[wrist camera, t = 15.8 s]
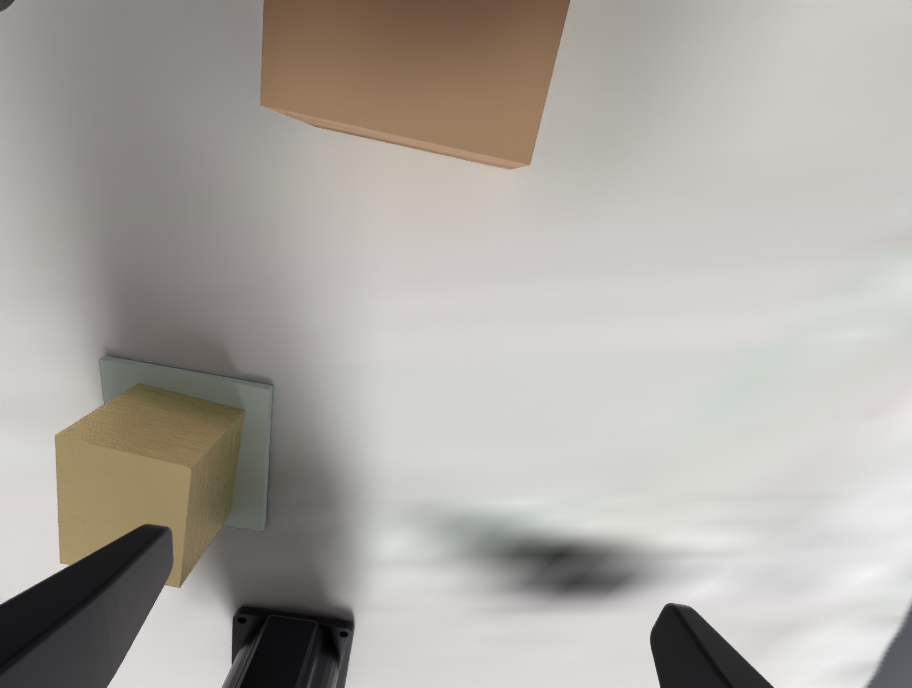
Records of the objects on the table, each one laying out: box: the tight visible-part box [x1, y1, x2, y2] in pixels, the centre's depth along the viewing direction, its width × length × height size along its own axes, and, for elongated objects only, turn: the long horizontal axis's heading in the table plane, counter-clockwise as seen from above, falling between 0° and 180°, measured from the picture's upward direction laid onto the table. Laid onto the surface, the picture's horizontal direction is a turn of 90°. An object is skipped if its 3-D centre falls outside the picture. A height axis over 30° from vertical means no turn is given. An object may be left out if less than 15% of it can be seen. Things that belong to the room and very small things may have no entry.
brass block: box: [55, 383, 245, 588], centre depth 17 cm, size 6×4×4 cm
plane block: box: [260, 0, 570, 170], centre depth 12 cm, size 7×7×4 cm
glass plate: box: [99, 356, 273, 532], centre depth 19 cm, size 8×7×1 cm
